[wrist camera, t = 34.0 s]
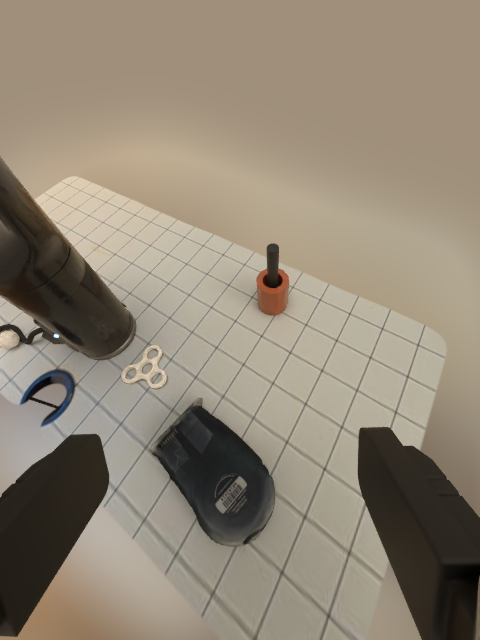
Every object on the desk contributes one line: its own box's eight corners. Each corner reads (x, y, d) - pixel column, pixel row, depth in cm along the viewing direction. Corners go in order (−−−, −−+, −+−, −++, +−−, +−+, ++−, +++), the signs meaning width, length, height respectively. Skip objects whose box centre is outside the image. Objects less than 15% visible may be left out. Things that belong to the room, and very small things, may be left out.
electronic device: (154, 461, 36) (234, 570, 29) (138, 447, 32) (226, 570, 24) (208, 410, 40) (291, 493, 32) (200, 392, 36) (293, 483, 28)
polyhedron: (3, 345, 47) (-13, 337, 44) (19, 332, 48) (4, 324, 45) (11, 355, 45) (-5, 347, 43) (27, 341, 46) (13, 333, 44)
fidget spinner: (119, 382, 41) (117, 380, 40) (136, 343, 44) (134, 340, 43) (163, 390, 40) (161, 389, 39) (177, 349, 43) (176, 347, 42)
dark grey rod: (268, 305, 45) (267, 252, 34) (267, 298, 45) (266, 243, 35) (277, 305, 44) (279, 251, 34) (277, 297, 45) (278, 242, 35)
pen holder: (259, 316, 44) (257, 294, 39) (258, 292, 47) (256, 269, 42) (288, 314, 44) (290, 292, 39) (285, 290, 46) (287, 266, 41)
